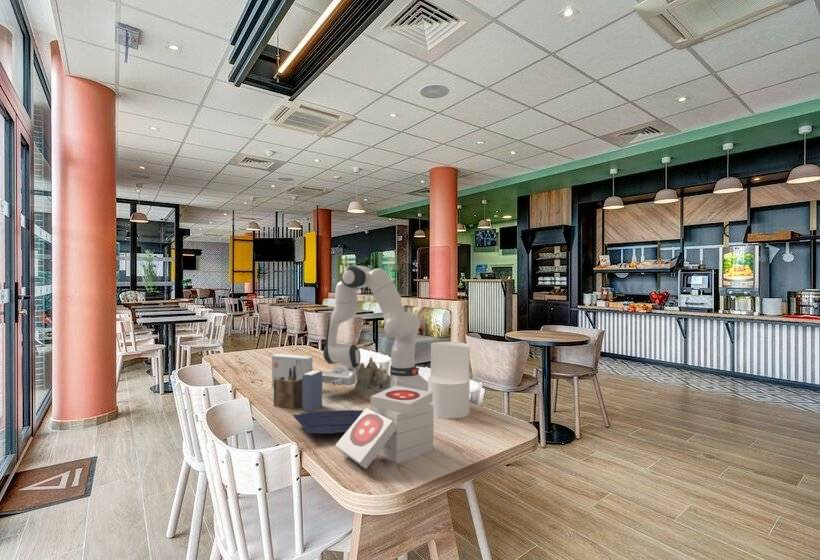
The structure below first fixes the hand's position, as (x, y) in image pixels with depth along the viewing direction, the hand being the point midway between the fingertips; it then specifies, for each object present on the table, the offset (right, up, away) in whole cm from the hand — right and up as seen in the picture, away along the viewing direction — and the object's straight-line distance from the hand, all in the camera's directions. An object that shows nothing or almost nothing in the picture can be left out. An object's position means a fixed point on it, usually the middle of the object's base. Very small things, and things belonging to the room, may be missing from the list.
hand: (324, 382), depth 183 cm
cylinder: (+55, -9, -13) cm, 57 cm away
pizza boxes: (+32, -10, -53) cm, 62 cm away
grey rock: (+20, -9, +21) cm, 30 cm away
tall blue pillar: (-3, -9, -9) cm, 13 cm away
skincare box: (-21, -8, +23) cm, 33 cm away
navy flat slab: (+12, -9, -30) cm, 34 cm away
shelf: (-13, -8, -3) cm, 16 cm away
